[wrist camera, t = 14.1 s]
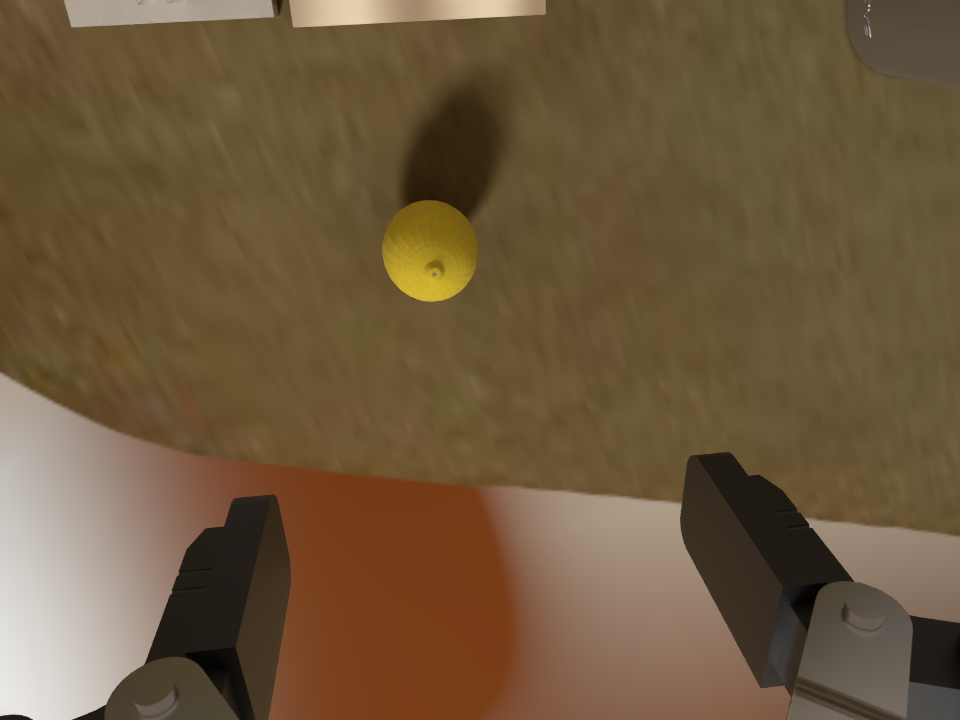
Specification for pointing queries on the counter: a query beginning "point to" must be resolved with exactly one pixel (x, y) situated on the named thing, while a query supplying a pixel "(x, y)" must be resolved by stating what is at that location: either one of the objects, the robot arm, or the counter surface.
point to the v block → (164, 11)
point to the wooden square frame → (405, 10)
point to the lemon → (430, 250)
